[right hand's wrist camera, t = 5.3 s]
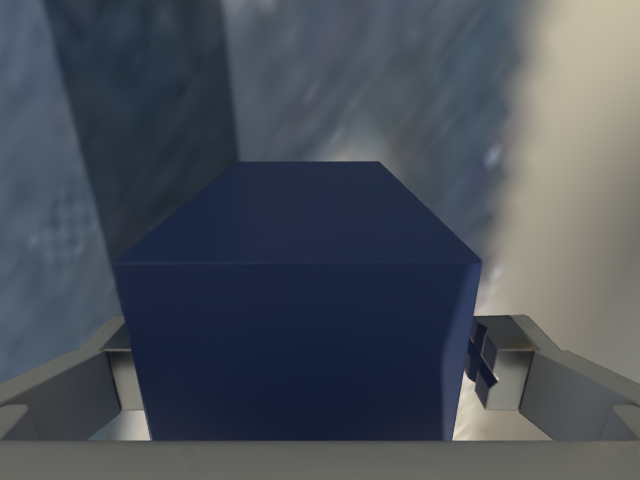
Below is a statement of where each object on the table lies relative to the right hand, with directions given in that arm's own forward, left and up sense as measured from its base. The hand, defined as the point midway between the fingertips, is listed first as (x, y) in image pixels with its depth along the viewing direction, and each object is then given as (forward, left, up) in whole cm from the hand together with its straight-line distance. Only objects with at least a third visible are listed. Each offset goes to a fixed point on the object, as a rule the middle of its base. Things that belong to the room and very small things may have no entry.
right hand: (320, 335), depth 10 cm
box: (+7, 0, -7) cm, 10 cm away
